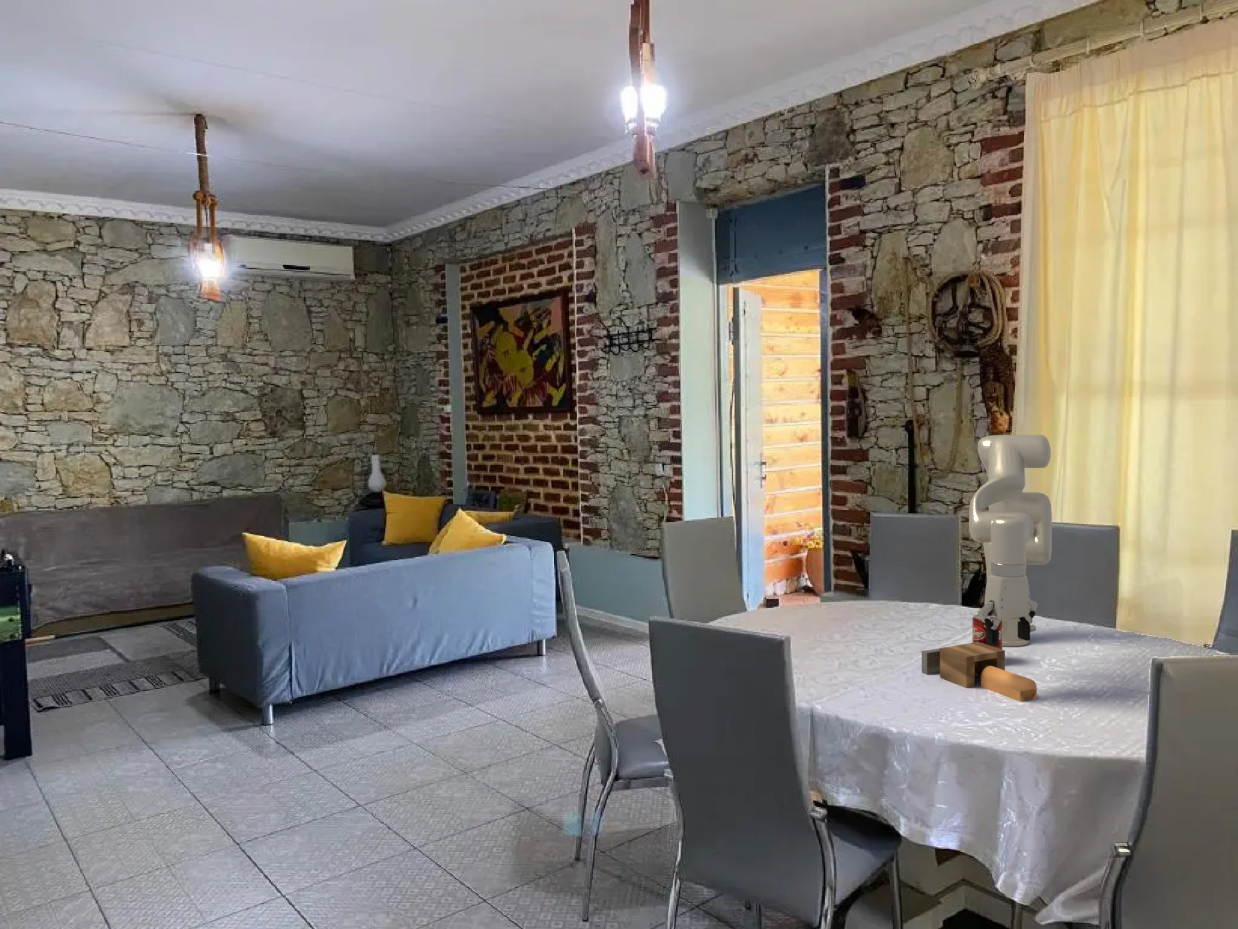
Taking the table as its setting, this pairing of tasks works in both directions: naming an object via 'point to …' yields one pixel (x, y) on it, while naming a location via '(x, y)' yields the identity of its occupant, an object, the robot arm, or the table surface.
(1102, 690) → the table surface
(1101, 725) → the table surface
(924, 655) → the rail
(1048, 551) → the robot arm
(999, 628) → the soda can
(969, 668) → the block
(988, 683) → the dowel
